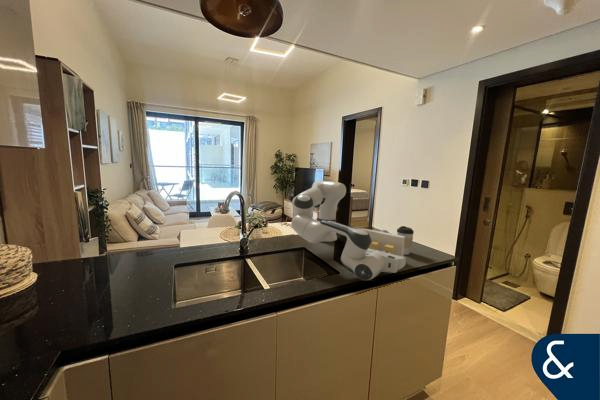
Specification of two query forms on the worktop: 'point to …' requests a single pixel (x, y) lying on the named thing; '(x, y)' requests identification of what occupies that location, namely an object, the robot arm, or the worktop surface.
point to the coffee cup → (406, 238)
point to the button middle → (374, 245)
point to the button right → (389, 248)
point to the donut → (384, 232)
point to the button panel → (387, 240)
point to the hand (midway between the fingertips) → (387, 252)
